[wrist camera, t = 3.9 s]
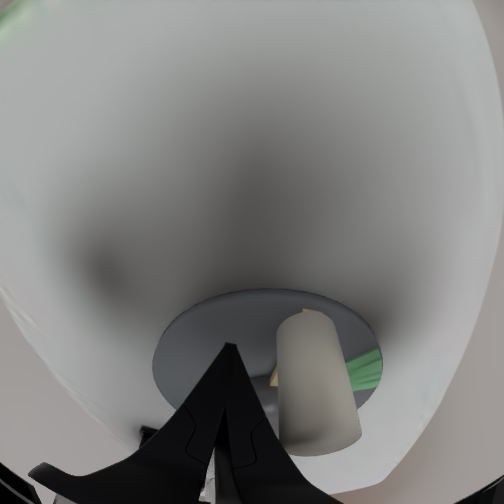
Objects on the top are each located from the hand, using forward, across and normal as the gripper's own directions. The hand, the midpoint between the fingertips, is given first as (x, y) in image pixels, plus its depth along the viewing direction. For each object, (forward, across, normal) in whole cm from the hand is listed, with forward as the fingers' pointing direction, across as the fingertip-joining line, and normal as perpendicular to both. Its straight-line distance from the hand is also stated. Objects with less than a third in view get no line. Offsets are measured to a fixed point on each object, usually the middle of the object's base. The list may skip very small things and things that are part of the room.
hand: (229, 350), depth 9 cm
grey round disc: (+4, -3, +6) cm, 8 cm away
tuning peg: (+2, -3, +3) cm, 5 cm away
